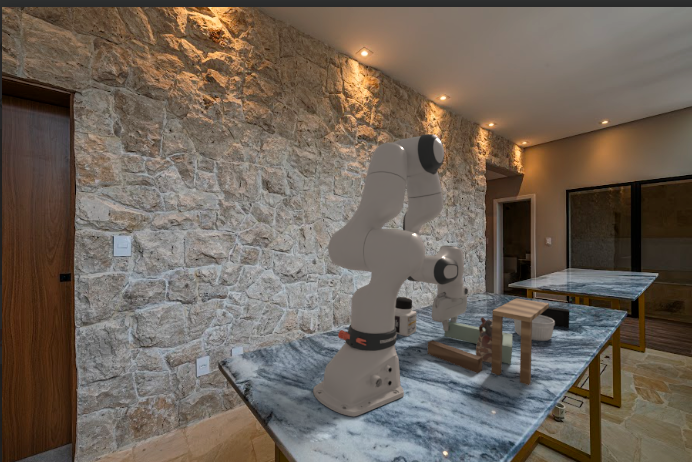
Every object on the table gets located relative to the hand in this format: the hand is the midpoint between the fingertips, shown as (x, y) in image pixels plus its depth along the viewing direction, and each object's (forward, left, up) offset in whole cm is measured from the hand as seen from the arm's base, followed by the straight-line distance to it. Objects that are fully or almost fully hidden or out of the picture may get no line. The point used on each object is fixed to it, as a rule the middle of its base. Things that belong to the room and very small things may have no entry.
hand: (449, 329), depth 107 cm
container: (-6, +16, -4) cm, 17 cm away
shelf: (-5, -24, -4) cm, 25 cm away
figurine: (-6, -16, -4) cm, 17 cm away
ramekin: (+27, -20, -4) cm, 34 cm away
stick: (-17, -9, -4) cm, 20 cm away
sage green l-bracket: (-3, -10, -3) cm, 11 cm away
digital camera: (+51, -23, -4) cm, 56 cm away
